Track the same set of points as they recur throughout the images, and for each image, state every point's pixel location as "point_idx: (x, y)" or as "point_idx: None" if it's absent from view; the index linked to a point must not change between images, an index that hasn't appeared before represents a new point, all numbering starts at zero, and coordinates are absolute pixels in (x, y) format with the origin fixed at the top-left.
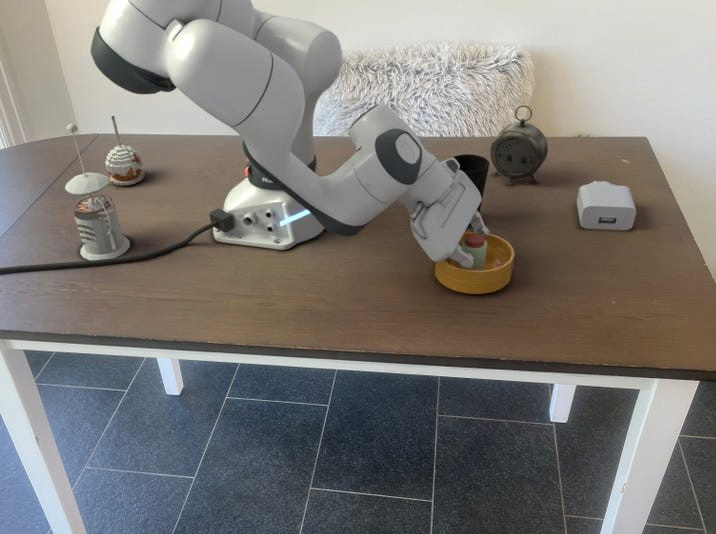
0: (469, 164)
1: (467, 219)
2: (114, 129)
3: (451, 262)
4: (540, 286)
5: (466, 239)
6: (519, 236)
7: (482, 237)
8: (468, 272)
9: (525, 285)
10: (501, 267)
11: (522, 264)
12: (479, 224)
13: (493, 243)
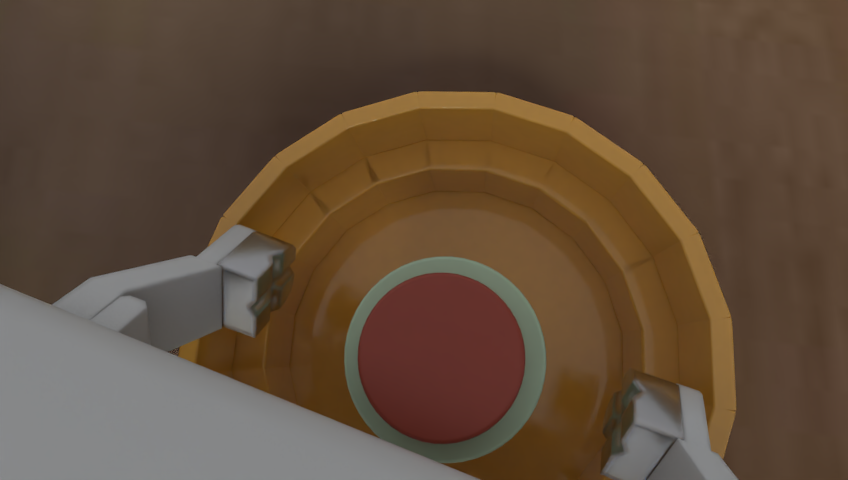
0: None
1: (330, 456)
2: None
3: None
4: (548, 34)
5: (462, 438)
6: (103, 82)
7: (433, 291)
8: (727, 423)
9: (541, 98)
10: (660, 187)
11: (354, 93)
12: (192, 292)
13: (279, 210)
